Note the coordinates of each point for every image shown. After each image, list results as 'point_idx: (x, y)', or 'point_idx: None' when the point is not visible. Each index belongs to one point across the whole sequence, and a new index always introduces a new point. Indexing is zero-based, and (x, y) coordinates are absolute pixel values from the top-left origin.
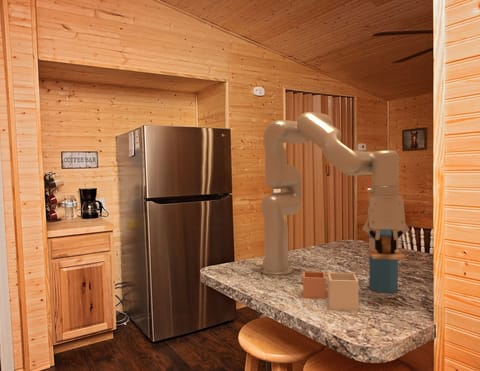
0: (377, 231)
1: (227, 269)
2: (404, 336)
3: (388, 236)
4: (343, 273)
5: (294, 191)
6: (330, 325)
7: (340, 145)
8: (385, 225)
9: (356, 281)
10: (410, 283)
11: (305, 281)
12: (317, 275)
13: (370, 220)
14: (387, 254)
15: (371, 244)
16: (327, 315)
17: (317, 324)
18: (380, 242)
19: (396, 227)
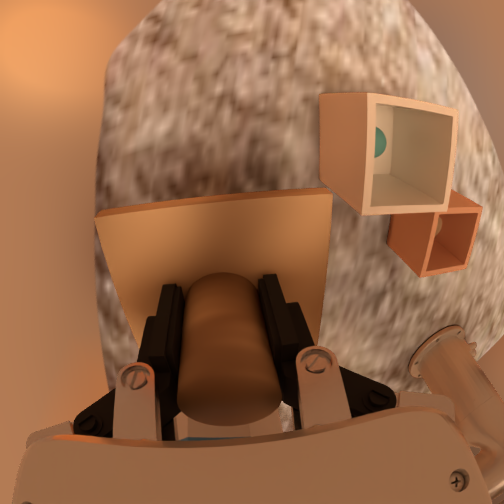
0: (334, 419)
1: (496, 328)
2: None
3: (203, 407)
4: (403, 205)
5: None
6: (394, 14)
7: None
8: (266, 497)
9: (374, 93)
10: None
11: (470, 202)
12: (432, 264)
13: (482, 483)
14: (215, 262)
15: (275, 420)
16: (401, 72)
17: (420, 24)
18: (280, 329)
19: (98, 465)
